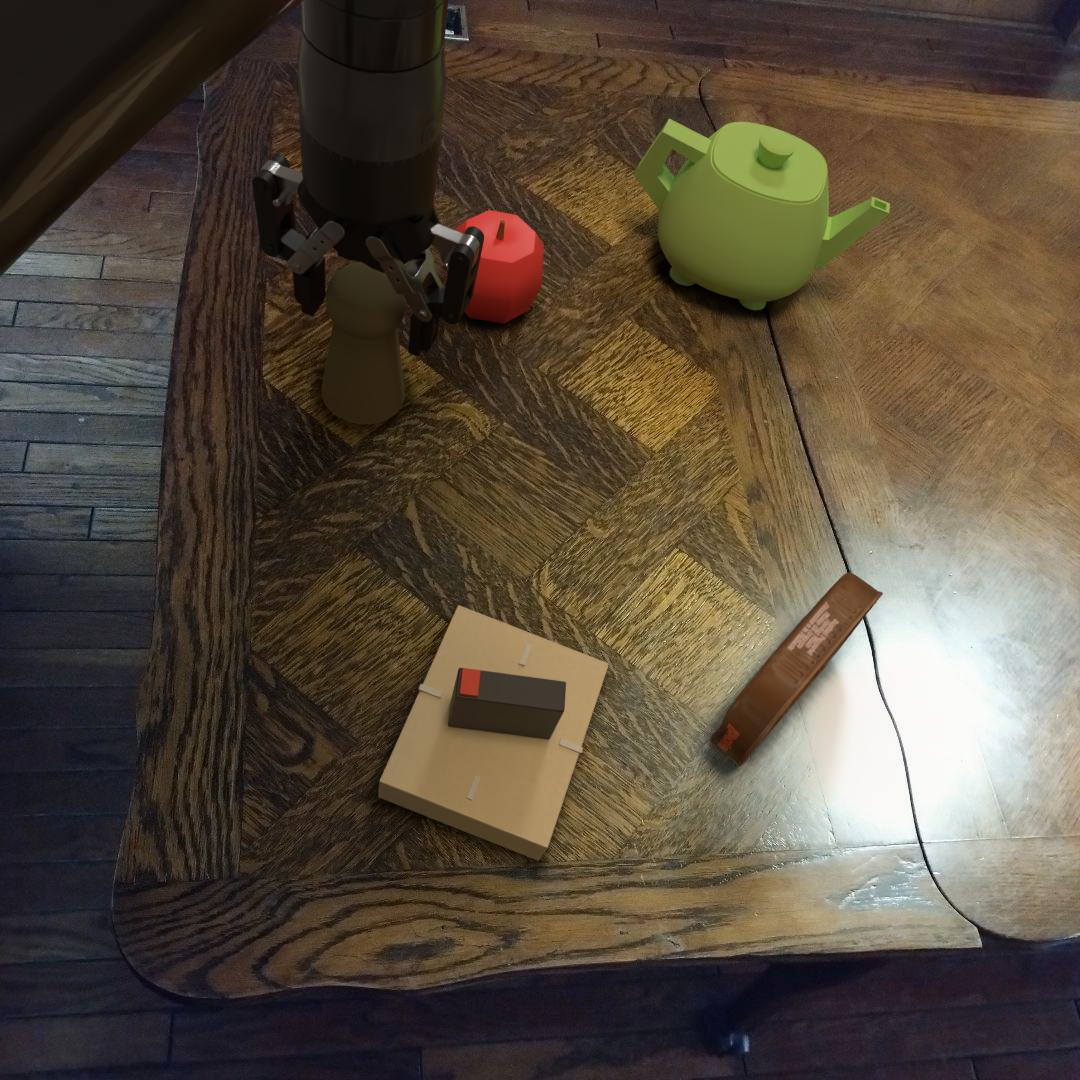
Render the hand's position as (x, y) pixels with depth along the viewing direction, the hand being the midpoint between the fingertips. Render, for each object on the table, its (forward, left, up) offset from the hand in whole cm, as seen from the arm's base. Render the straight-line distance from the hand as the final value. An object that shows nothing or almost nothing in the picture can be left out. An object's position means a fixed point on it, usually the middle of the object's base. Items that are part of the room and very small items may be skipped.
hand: (365, 326), depth 66 cm
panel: (-21, -18, -7) cm, 28 cm away
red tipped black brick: (-21, -18, -4) cm, 28 cm away
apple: (+13, -5, -7) cm, 16 cm away
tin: (-11, -34, -7) cm, 36 cm away
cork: (0, 0, -7) cm, 7 cm away
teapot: (+27, -22, -7) cm, 35 cm away
